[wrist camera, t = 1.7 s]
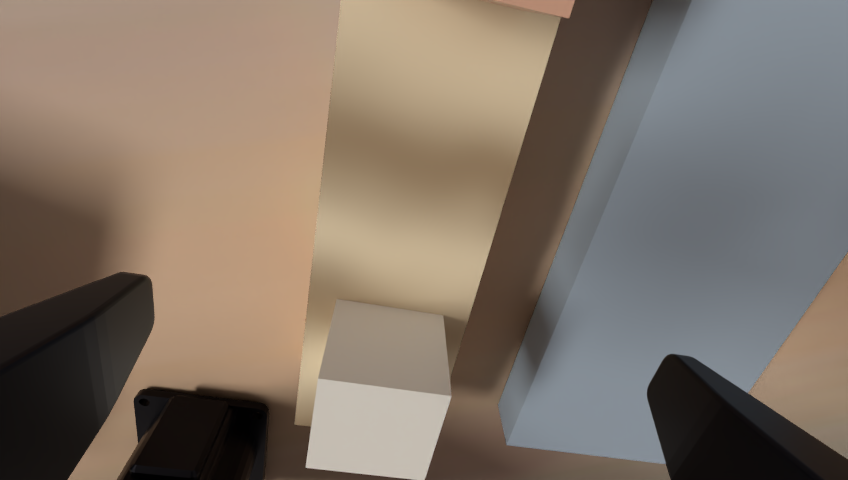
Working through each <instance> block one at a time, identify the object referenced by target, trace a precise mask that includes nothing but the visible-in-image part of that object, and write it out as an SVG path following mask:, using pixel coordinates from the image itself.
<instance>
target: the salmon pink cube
mask: <svg viewBox="0 0 848 480" xmlns="http://www.w3.org/2000/svg"><path fill="white" fill-rule="evenodd" d="M480 1H484V2H489V3H493V4H497V5H501V6H505V7H510V8H514V9H518V10H522V11H527V12H533V13H539V14H545V15H551V16H557V17H563V18H569V17H570V14H571V11H572V8H573V5H574V1H575V0H480Z"/></svg>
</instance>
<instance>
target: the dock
mask: <svg viewBox="0 0 848 480" xmlns="http://www.w3.org/2000/svg"><path fill="white" fill-rule="evenodd" d="M847 252H848V0H653V1H652V4H651V6H650V9H649V12H648V14H647V17H646V19H645V22H644V25H643V27H642V30H641V32H640V35H639V38H638V40H637V43H636V46H635V48H634V51H633V53H632V56H631V59H630V61H629V64H628V66H627V69H626V72H625V74H624V77H623V80H622V82H621V85H620V87H619V90H618V93H617V95H616V98H615V100H614V103H613V106H612V108H611V111H610V113H609V116H608V119H607V121H606V124H605V127H604V129H603V132H602V134H601V137H600V140H599V142H598V145H597V147H596V150H595V153H594V155H593V158H592V161H591V163H590V166H589V168H588V171H587V174H586V176H585V179H584V181H583V184H582V187H581V189H580V192H579V195H578V197H577V200H576V202H575V205H574V208H573V210H572V213H571V215H570V218H569V221H568V223H567V226H566V229H565V231H564V234H563V236H562V239H561V242H560V244H559V247H558V249H557V252H556V255H555V257H554V260H553V263H552V265H551V268H550V270H549V273H548V276H547V278H546V281H545V283H544V286H543V289H542V291H541V294H540V296H539V299H538V302H537V304H536V307H535V310H534V312H533V315H532V317H531V320H530V323H529V325H528V328H527V330H526V333H525V336H524V338H523V341H522V344H521V346H520V349H519V351H518V354H517V357H516V359H515V362H514V364H513V367H512V370H511V372H510V375H509V378H508V380H507V383H506V385H505V388H504V391H503V393H502V396H501V398H500V401H499V404H498V408H499V412H500V417H501V422H502V426H503V431H504V436H505V440H506V445H509V446H518V447H526V448H535V449H543V450H551V451H560V452H568V453H577V454H585V455H594V456H602V457H610V458H619V459H627V460H636V461H644V462H653V463H661V464H666V462H665V459H664V455H663V452H662V449H661V445H660V442H659V438H658V435H657V431H656V428H655V424H654V421H653V417H652V414H651V410H650V407H649V403H648V400H647V388H648V385H649V383H650V381H651V380H652V378H653V376H654V374H655V373H656V371H657V369H658V367H659V366H660V364H661V362H662V360H663V359H664V357H666V356H667V355H668V354H679V355H686V356H691V357H693V358H695V359H697V360H698V361H700V362H701V363H703V364H704V365H706V366H707V367H709V368H710V369H712V370H713V371H715V372H716V373H718V374H719V375H721V376H722V377H724V378H725V379H727V380H728V381H730V382H731V383H733V384H734V385H736V386H737V387H739V388H740V389H742V390H744V391H745V392H747V393H748V392H749V391H750V389H751V388H752V386H753V385H754V383H755V382H756V381H757V379H758V378H759V376H760V375H761V374H762V372H763V371H764V369H765V368H766V367H767V365H768V364H769V362H770V361H771V359H772V358H773V357H774V355H775V354H776V352H777V351H778V350H779V348H780V347H781V345H782V344H783V342H784V341H785V340H786V338H787V337H788V335H789V334H790V333H791V331H792V330H793V328H794V327H795V326H796V324H797V323H798V321H799V320H800V318H801V317H802V316H803V314H804V313H805V311H806V310H807V309H808V307H809V306H810V304H811V303H812V302H813V300H814V299H815V297H816V296H817V294H818V293H819V292H820V290H821V289H822V287H823V286H824V285H825V283H826V282H827V280H828V279H829V278H830V276H831V275H832V273H833V272H834V270H835V269H836V268H837V266H838V265H839V263H840V262H841V261H842V259H843V258H844V256H845V255H846V254H847Z"/></svg>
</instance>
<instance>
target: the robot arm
mask: <svg viewBox="0 0 848 480" xmlns="http://www.w3.org/2000/svg"><path fill="white" fill-rule="evenodd" d="M153 324H154V302H153V289H152V282H151V279H150V278H149V277H148V276H146V275H141V274H135V273H128V272H120V273H117V274H114V275H111V276H109V277H106V278H103V279H101V280H98V281H95V282H92V283H90V284H87V285H84V286H82V287H79V288H76V289H74V290H71V291H68V292H66V293H63V294H60V295H58V296H55V297H52V298H50V299H47V300H44V301H42V302H39V303H36V304H34V305H31V306H28V307H26V308H23V309H20V310H18V311H15V312H12V313H10V314H7V315H4V316H2V317H0V480H67V479H68V478H69V476H70V475H71V473H72V472H73V470H74V469H75V467H76V466H77V464H78V463H79V461H80V459H81V458H82V456H83V455H84V453H85V452H86V450H87V449H88V447H89V446H90V444H91V442H92V441H93V439H94V438H95V436H96V435H97V433H98V432H99V430H100V429H101V427H102V425H103V424H104V422H105V420H106V419H107V417H108V416H109V414H110V412H111V410H112V408H113V406H114V404H115V403H116V401H117V399H118V397H119V395H120V393H121V391H122V389H123V387H124V385H125V383H126V381H127V379H128V377H129V375H130V373H131V371H132V369H133V367H134V365H135V363H136V361H137V359H138V357H139V355H140V353H141V351H142V349H143V347H144V345H145V343H146V341H147V339H148V337H149V335H150V333H151V331H152V328H153ZM647 400H648V403H649V407H650V410H651V414H652V417H653V421H654V424H655V428H656V431H657V435H658V438H659V442H660V445H661V449H662V452H663V455H664V459H665V462H666V466H667V469H668V472H669V475H670V479H671V480H848V459H846V458H845V457H843V456H842V455H840V454H839V453H837V452H836V451H834V450H833V449H831V448H830V447H828V446H827V445H825V444H824V443H822V442H821V441H819V440H818V439H816V438H815V437H813V436H811V435H810V434H808V433H807V432H805V431H804V430H802V429H801V428H799V427H798V426H796V425H795V424H793V423H792V422H790V421H789V420H787V419H786V418H784V417H783V416H781V415H780V414H778V413H777V412H775V411H774V410H772V409H771V408H769V407H768V406H766V405H765V404H763V403H762V402H760V401H759V400H757V399H756V398H754V397H753V396H751V395H750V394H748V393H747V392H745V391H744V390H742V389H740V388H739V387H737V386H736V385H734V384H733V383H731V382H730V381H728V380H727V379H725V378H724V377H722V376H721V375H719V374H718V373H716V372H715V371H713V370H712V369H710V368H709V367H707V366H706V365H704V364H703V363H701V362H700V361H698V360H697V359H695V358H693V357H691V356H686V355H679V354H668V355H667V356H666V357H664V359H663V360H662V362H661V364H660V366H659V367H658V369H657V371H656V373H655V374H654V376H653V378H652V380H651V381H650V383H649V385H648V388H647ZM134 408H135V417H136V427H137V436H138V445H137V447H136V448H135V450H134V452H133V453H132V455H131V457H130V458H129V460H128V462H127V463H126V465H125V467H124V468H123V470H122V472H121V473H120V475H119V477H118V478H117V480H264V477H265V463H266V450H267V436H268V423H269V408H268V406H267V405H265V404H263V403H258V402H249V401H241V400H233V399H225V398H217V397H208V396H200V395H192V394H184V393H176V392H167V391H159V390H151V389H143V390H140V391H139V392H138V394H137V395H136V397H135V398H134ZM257 412H258V413H257Z"/></svg>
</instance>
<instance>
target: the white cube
mask: <svg viewBox="0 0 848 480" xmlns="http://www.w3.org/2000/svg"><path fill="white" fill-rule="evenodd" d="M451 397H452V395H451V385H450V376H449V366H448V356H447V347H446V337H445V328H444V318H443V315H438V314H432V313H425V312H419V311H412V310H406V309H399V308H393V307H386V306H380V305H373V304H367V303H360V302H353V301H347V300H340V299H337V300H336V304H335V308H334V312H333V317H332V321H331V325H330V329H329V334H328V338H327V342H326V346H325V351H324V355H323V359H322V363H321V367H320V372H319V376H318V381H317V389H316V396H315V403H314V410H313V417H312V425H311V432H310V439H309V446H308V453H307V460H306V468H312V469H321V470H330V471H339V472H348V473H358V474H367V475H376V476H385V477H394V478H403V479H412V480H425V477H426V474H427V471H428V468H429V465H430V462H431V459H432V456H433V453H434V449H435V446H436V443H437V440H438V437H439V434H440V431H441V428H442V425H443V421H444V418H445V415H446V412H447V409H448V406H449V403H450V400H451Z"/></svg>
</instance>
